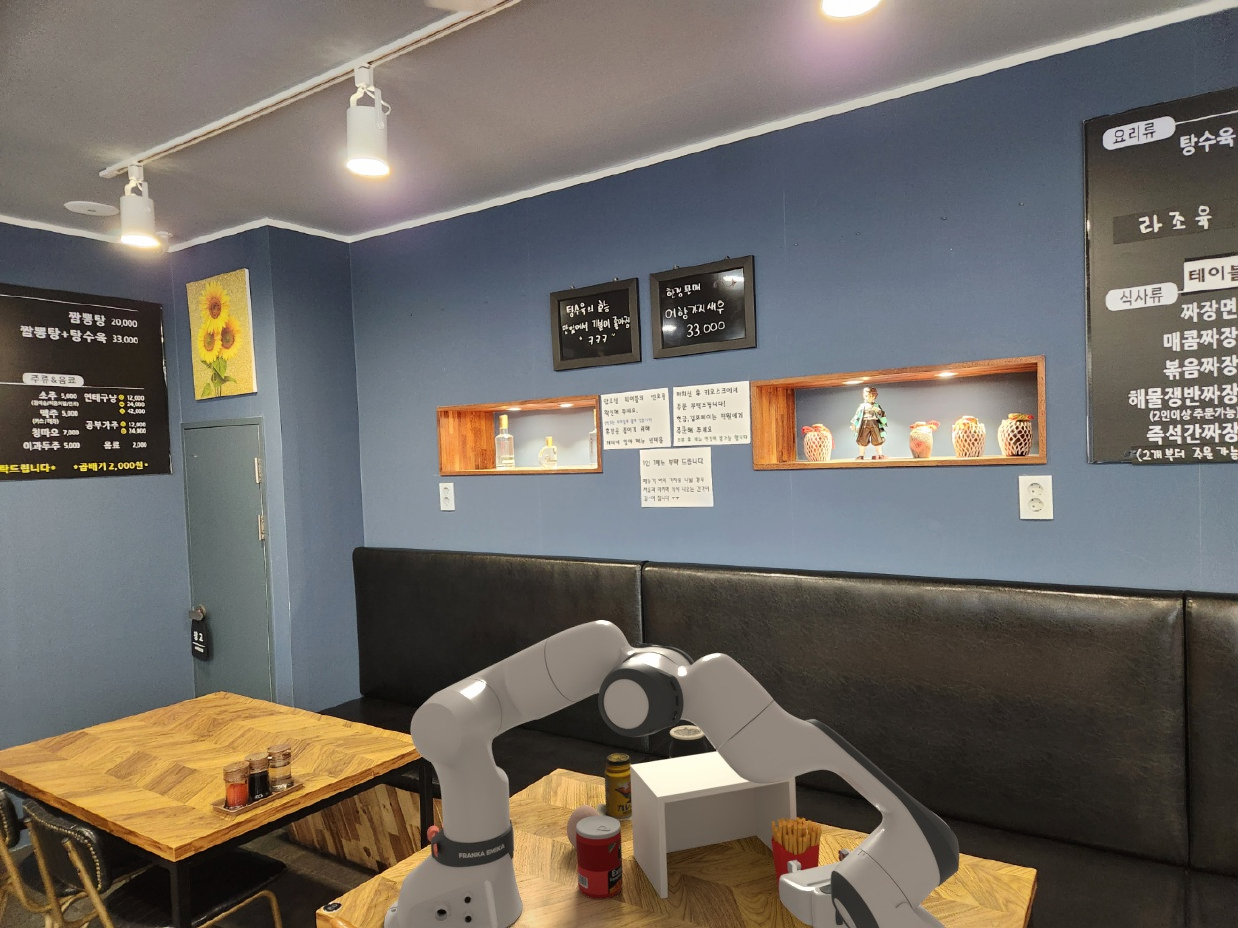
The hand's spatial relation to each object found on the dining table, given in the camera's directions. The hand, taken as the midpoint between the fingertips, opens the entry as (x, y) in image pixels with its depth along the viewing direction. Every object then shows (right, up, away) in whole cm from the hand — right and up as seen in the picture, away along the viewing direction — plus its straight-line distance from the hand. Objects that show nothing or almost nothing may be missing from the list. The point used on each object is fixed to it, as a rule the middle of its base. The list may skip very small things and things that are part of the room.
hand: (817, 859), depth 122 cm
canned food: (-36, -10, +10) cm, 38 cm away
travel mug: (-17, -10, +35) cm, 40 cm away
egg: (-39, -11, +23) cm, 46 cm away
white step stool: (-15, -9, +16) cm, 24 cm away
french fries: (-2, -9, +6) cm, 11 cm away
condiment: (-33, -11, +39) cm, 52 cm away
